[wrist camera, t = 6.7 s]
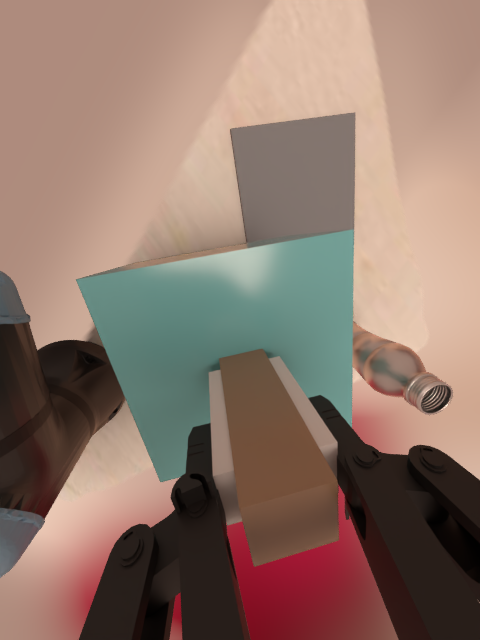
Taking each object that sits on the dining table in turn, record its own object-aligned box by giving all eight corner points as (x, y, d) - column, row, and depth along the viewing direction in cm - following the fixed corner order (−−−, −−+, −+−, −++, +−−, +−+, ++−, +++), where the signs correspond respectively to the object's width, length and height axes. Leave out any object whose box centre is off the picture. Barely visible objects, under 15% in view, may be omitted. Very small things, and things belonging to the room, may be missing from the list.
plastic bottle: (324, 350, 42) (422, 437, 23) (304, 326, 40) (394, 401, 21) (351, 327, 41) (475, 398, 22) (332, 302, 39) (452, 356, 20)
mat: (249, 264, 35) (250, 264, 34) (230, 130, 29) (230, 128, 28) (352, 244, 36) (353, 244, 36) (353, 114, 30) (355, 112, 30)
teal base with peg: (176, 393, 28) (120, 703, 9) (134, 262, 22) (-222, 363, 4) (299, 365, 29) (470, 582, 10) (288, 235, 24) (604, 205, 5)
